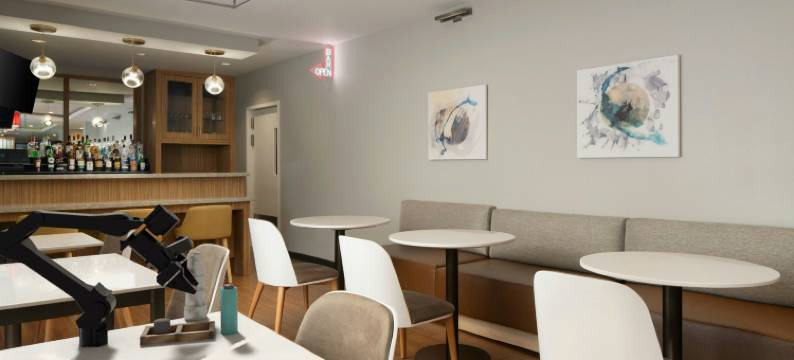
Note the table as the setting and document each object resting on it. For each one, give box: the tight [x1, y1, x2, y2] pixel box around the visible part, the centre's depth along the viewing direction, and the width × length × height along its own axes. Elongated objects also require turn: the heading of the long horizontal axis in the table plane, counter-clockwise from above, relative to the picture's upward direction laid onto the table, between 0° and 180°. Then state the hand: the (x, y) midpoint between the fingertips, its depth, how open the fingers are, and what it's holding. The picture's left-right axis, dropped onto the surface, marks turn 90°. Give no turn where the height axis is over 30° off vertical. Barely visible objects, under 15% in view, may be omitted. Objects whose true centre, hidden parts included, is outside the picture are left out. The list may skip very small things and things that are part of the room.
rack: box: [139, 320, 216, 346], centre depth 148 cm, size 18×9×3 cm, turn 106°
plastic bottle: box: [183, 252, 208, 322], centre depth 164 cm, size 6×7×20 cm
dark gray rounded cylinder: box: [153, 317, 171, 335], centre depth 146 cm, size 4×4×4 cm
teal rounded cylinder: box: [219, 283, 239, 336], centre depth 151 cm, size 4×4×14 cm
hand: (196, 288), depth 148 cm, fingers open, 9 cm apart
